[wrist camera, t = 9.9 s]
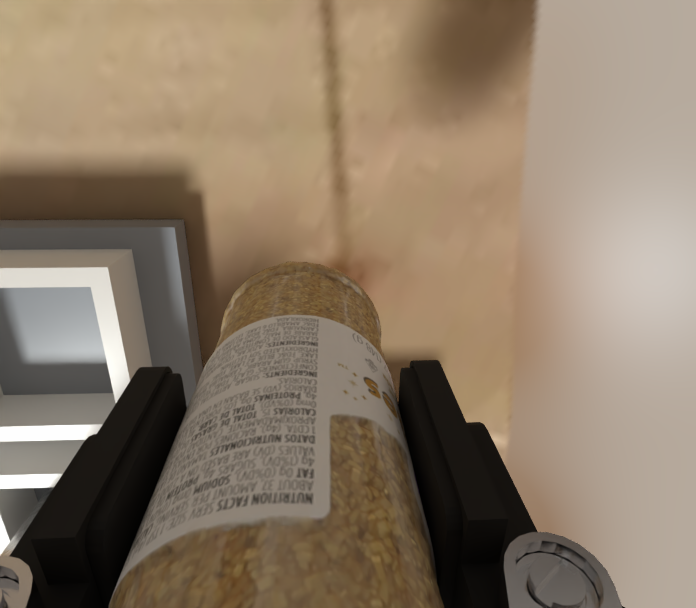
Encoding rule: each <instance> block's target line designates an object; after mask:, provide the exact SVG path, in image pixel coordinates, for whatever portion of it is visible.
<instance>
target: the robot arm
mask: <svg viewBox="0 0 696 608" xmlns="http://www.w3.org/2000/svg"><path fill="white" fill-rule="evenodd" d="M398 406H399V410H400V414H401V418H402V422H403V426H404V431H405V435H406V439H407V443H408V447H409V451H410V456H411V460H412V464H413V468H414V472H415V476H416V480H417V484H418V488H419V492H420V496H421V501H422V505H423V510H424V514H425V517H426V521H427V525H428V529H429V533H430V538H431V542H432V548H433V553H434V559H435V566H436V574H437V584H438V588H439V592H440V596H441V599H442V602H443V605H444V608H625V607H623V606H622V605H621V602H620V600H619V597H618V594H617V591H616V588H615V586H614V584H613V582H612V580H611V578H610V576H609V574H608V572H607V570H606V569H605V568H604V567H603V565H602V564H601V563H600V562H599V561H598V560H597V559H596V558H595V556H594V555H592V554H591V553H590V552H588V551H587V550H586V549H585V548H583V547H582V546H581V545H579V544H577V543H575V542H573V541H571V540H569V539H567V538H565V537H563V536H559V535H555V534H552V533H547V532H537V530H536V528H535V526H534V524H533V522H532V520H531V518H530V516H529V513H528V511H527V509H526V508H525V505H524V503H523V501H522V499H521V497H520V495H519V493H518V491H517V489H516V487H515V485H514V483H513V481H512V479H511V477H510V475H509V473H508V471H507V469H506V467H505V465H504V463H503V461H502V459H501V457H500V455H499V453H498V450H497V448H496V446H495V444H494V442H493V440H492V438H491V436H490V434H489V432H488V430H487V429H486V427H485V425H484V424H482V423H481V422H474V423H466V421H465V419H464V417H463V414H462V412H461V410H460V407H459V405H458V403H457V401H456V398H455V396H454V394H453V392H452V389H451V387H450V385H449V382H448V380H447V378H446V376H445V373H444V371H443V369H442V367H441V364H440V362H439V361H438V360H424V361H411V363H410V368H402V369H401V373H400V387H399V402H398ZM186 410H187V406H186V399H185V393H184V387H183V381H182V377H181V374H179V373H173V372H172V370H171V368H170V367H169V366H163V367H140V368H139V369H138V370H137V371H136V372H135V374H134V376H133V377H132V379H131V380H130V382H129V384H128V385H127V387H126V388H125V390H124V392H123V393H122V395H121V396H120V398H119V399H118V401H117V403H116V404H115V406H114V407H113V409H112V411H111V412H110V414H109V415H108V417H107V419H106V420H105V422H104V423H103V425H102V426H101V428H100V430H99V431H98V433H97V434H93V435H91V436H89V437H88V438H87V439H86V440H85V441H84V442H83V444H82V445H81V447H80V448H79V450H78V452H77V453H76V455H75V456H74V458H73V459H72V461H71V462H70V464H69V465H68V467H67V468H66V470H65V471H64V473H63V475H62V476H61V478H60V479H59V481H58V482H57V484H56V485H55V487H54V488H53V490H52V491H51V493H50V494H49V496H48V498H47V499H46V501H45V502H44V504H43V505H42V507H41V508H40V510H39V511H38V513H37V514H36V516H35V517H34V519H33V521H32V522H31V524H30V525H29V527H28V528H27V530H26V531H25V533H24V534H23V536H22V537H21V539H20V540H19V542H18V544H17V545H16V547H15V548H14V550H13V551H12V553H11V554H10V556H0V608H109V603H110V600H111V598H112V595H113V592H114V590H115V587H116V584H117V582H118V579H119V577H120V574H121V572H122V569H123V567H124V564H125V562H126V559H127V557H128V554H129V552H130V549H131V547H132V544H133V542H134V539H135V537H136V534H137V532H138V529H139V527H140V524H141V522H142V519H143V517H144V514H145V512H146V510H147V507H148V505H149V502H150V500H151V497H152V495H153V492H154V490H155V487H156V485H157V482H158V480H159V477H160V475H161V472H162V470H163V467H164V465H165V462H166V459H167V457H168V454H169V452H170V450H171V447H172V445H173V442H174V440H175V437H176V435H177V432H178V430H179V427H180V425H181V423H182V420H183V418H184V415H185V413H186Z"/></svg>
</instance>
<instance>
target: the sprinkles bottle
mask: <svg viewBox="0 0 696 608" xmlns="http://www.w3.org/2000/svg"><path fill="white" fill-rule="evenodd" d="M380 339H381V326H380V322H379V317H378V314H377V311H376V309H375V307H374V304H373V303H372V301H371V300H370V298H369V297H368V295H367V294H366V293H365V291H364V290H363V289H362V288H361V287H360V286H359V284H358V283H357V282H356V281H354V280H353V279H351V278H349V277H348V276H346V275H345V274H343V273H342V272H340V271H338V270H336V269H332V268H328V267H326V266H323V265H320V264H313V263H307V262H286V263H282V264H280V265H277V266H274V267H270V268H267V269H264V270H263V271H261V272H259V273H257V274H255V275H253V276H251V277H250V278H249V279H248V280H247V281H246V282H245V283H243V284H242V285H241V286H240V287H239V288H238V289H237V290H236V291H235V293H234V294H233V296H232V299H231V301H230V302H229V304H228V306H227V308H226V310H225V313H224V316H223V321H222V326H221V336H220V338H219V341H218V343H217V346H216V349H215V351H214V353H213V354H212V356H211V357H210V358H209V360H208V362H207V363H206V365H205V367H204V370H203V372H202V374H201V377H200V379H199V382H198V384H197V386H196V389H195V391H194V394H193V396H192V398H191V401H190V403H189V406H188V408H187V410H186V413H185V415H184V418H183V420H182V423H181V425H180V427H179V430H178V432H177V435H176V437H175V440H174V442H173V445H172V447H171V450H170V452H169V454H168V457H167V459H166V462H165V465H164V467H163V470H162V472H161V475H160V477H159V480H158V482H157V485H156V487H155V490H154V492H153V495H152V497H151V500H150V502H149V505H148V507H147V510H146V512H145V514H144V517H143V519H142V522H141V524H140V527H139V529H138V532H137V534H136V537H135V539H134V542H133V544H132V547H131V549H130V552H129V554H128V557H127V559H126V562H125V564H124V567H123V569H122V572H121V574H120V577H119V579H118V582H117V584H116V587H115V590H114V592H113V595H112V598H111V600H110V603H109V608H444V605H443V602H442V599H441V596H440V592H439V588H438V584H437V574H436V566H435V559H434V553H433V548H432V542H431V538H430V533H429V529H428V525H427V521H426V517H425V514H424V510H423V505H422V501H421V496H420V492H419V488H418V484H417V480H416V476H415V472H414V468H413V464H412V460H411V456H410V451H409V447H408V443H407V439H406V435H405V431H404V426H403V422H402V418H401V414H400V410H399V406H398V402H397V398H396V394H395V390H394V385H393V381H392V378H391V374H390V372H389V369H388V367H387V365H386V363H385V360H384V355H383V353H382V350H381V340H380Z"/></svg>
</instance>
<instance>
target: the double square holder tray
mask: <svg viewBox="0 0 696 608" xmlns="http://www.w3.org/2000/svg"><path fill="white" fill-rule="evenodd" d="M163 366H169V367H170V368H171V370H172V372H173V373H179V374H181V377H182V381H183V387H184V393H185V399H186V406H187V408H188V406H189V403H190V401H191V398H192V396H193V394H194V391H195V389H196V386H197V384H198V382H199V379H200V377H201V374H202V372H203V366H202V358H201V350H200V342H199V335H198V327H197V319H196V311H195V303H194V295H193V287H192V279H191V272H190V264H189V256H188V248H187V240H186V232H185V224H184V219H168V220H0V555H1V554H2V552H3V551H4V549H5V548H6V547H7V545H8V544H9V542H10V541H11V540H12V538H13V537H14V535H15V534H16V533H17V531H18V530H19V528H20V527H21V526H22V524H23V523H24V521H25V520H26V519H27V517H28V516H29V514H30V513H31V512H32V510H33V509H34V507H35V506H36V505H37V503H38V502H39V500H40V499H41V498H42V496H43V495H44V493H45V492H46V491H47V489H48V488H49V487H55V485H56V484H57V482H58V481H59V479H60V478H61V476H62V475H63V473H64V471H65V470H66V468H67V467H68V465H69V464H70V462H71V461H72V459H73V458H74V456H75V455H76V453H77V452H78V450H79V448H80V447H81V445H82V444H83V442H84V441H85V440H86V439H87V438H88V437H89V436H91V435H93V434H97V433H98V431H99V430H100V428H101V426H102V425H103V423H104V422H105V420H106V419H107V417H108V415H109V414H110V412H111V411H112V409H113V407H114V406H115V404H116V403H117V401H118V399H119V398H120V396H121V395H122V393H123V392H124V390H125V388H126V387H127V385H128V384H129V382H130V380H131V379H132V377H133V376H134V374H135V372H136V371H137V370H138V369H139V368H140V367H163Z"/></svg>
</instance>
